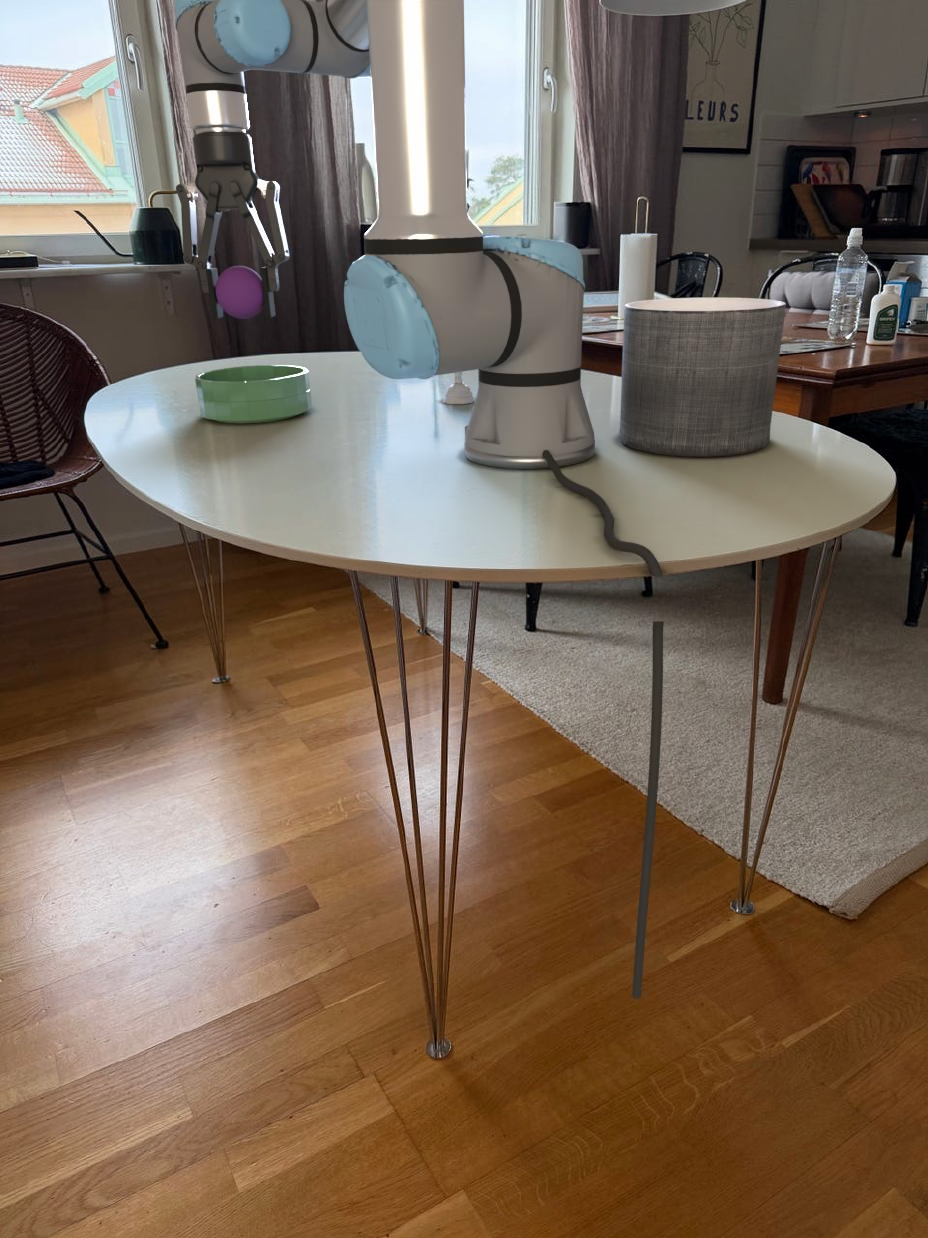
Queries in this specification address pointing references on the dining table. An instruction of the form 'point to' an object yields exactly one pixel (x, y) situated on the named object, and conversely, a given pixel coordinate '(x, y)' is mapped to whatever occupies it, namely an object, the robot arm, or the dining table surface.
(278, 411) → the bowl
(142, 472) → the dining table surface
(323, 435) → the dining table surface
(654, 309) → the planter
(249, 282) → the ball
